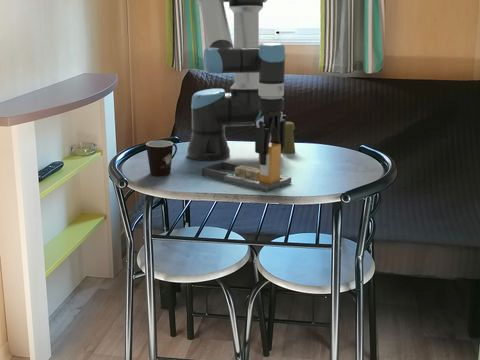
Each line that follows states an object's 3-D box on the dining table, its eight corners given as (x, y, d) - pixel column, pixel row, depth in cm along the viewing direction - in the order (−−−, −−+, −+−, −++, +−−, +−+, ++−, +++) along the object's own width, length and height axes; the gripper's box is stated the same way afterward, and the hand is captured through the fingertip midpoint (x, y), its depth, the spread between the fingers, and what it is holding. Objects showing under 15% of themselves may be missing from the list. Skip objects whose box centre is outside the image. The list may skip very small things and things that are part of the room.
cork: (284, 148, 251) (285, 119, 248) (298, 151, 248) (299, 121, 245) (275, 152, 247) (276, 122, 243) (289, 154, 243) (290, 124, 240)
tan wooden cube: (246, 182, 210) (246, 170, 209) (253, 179, 213) (254, 167, 212) (256, 185, 207) (256, 172, 206) (264, 182, 210) (264, 169, 209)
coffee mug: (152, 178, 213) (151, 148, 210) (143, 172, 220) (142, 142, 217) (186, 174, 218) (186, 144, 215) (176, 167, 225) (175, 138, 222)
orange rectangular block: (259, 183, 206) (259, 145, 203) (268, 180, 209) (268, 142, 206) (271, 186, 203) (272, 147, 200) (280, 182, 207) (280, 144, 203)
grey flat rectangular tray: (224, 181, 210) (224, 175, 210) (248, 173, 219) (248, 167, 219) (268, 192, 200) (268, 186, 199) (291, 183, 209) (291, 177, 208)
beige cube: (234, 180, 213) (234, 167, 211) (242, 177, 216) (242, 165, 214) (244, 182, 210) (244, 170, 209) (252, 179, 213) (252, 167, 212)
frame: (201, 175, 217) (201, 168, 216) (223, 168, 225) (223, 161, 224) (225, 181, 211) (225, 173, 210) (246, 174, 219) (246, 166, 218)
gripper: (263, 102, 190) (262, 181, 197) (298, 94, 203) (296, 169, 210) (242, 99, 195) (242, 176, 201) (278, 92, 208) (276, 165, 214)
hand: (269, 172), depth 206 cm, fingers closed on orange rectangular block, 4 cm apart
